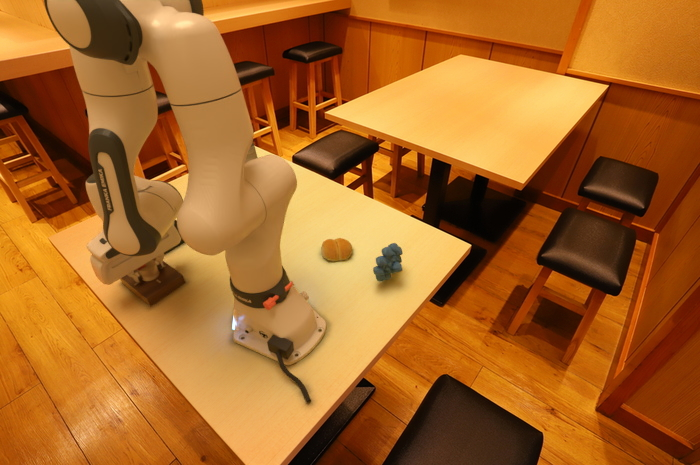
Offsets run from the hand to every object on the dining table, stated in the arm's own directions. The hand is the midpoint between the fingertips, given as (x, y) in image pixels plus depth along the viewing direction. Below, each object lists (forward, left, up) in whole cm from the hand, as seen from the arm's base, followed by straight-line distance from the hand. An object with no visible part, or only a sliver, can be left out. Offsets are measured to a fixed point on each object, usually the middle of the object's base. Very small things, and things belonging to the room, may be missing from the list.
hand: (149, 273), depth 96 cm
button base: (+13, -13, -4) cm, 19 cm away
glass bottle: (0, -35, -4) cm, 35 cm away
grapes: (-49, -38, -4) cm, 62 cm away
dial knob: (0, 0, -1) cm, 1 cm away
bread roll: (-31, -38, -4) cm, 49 cm away
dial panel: (0, 0, -4) cm, 4 cm away
